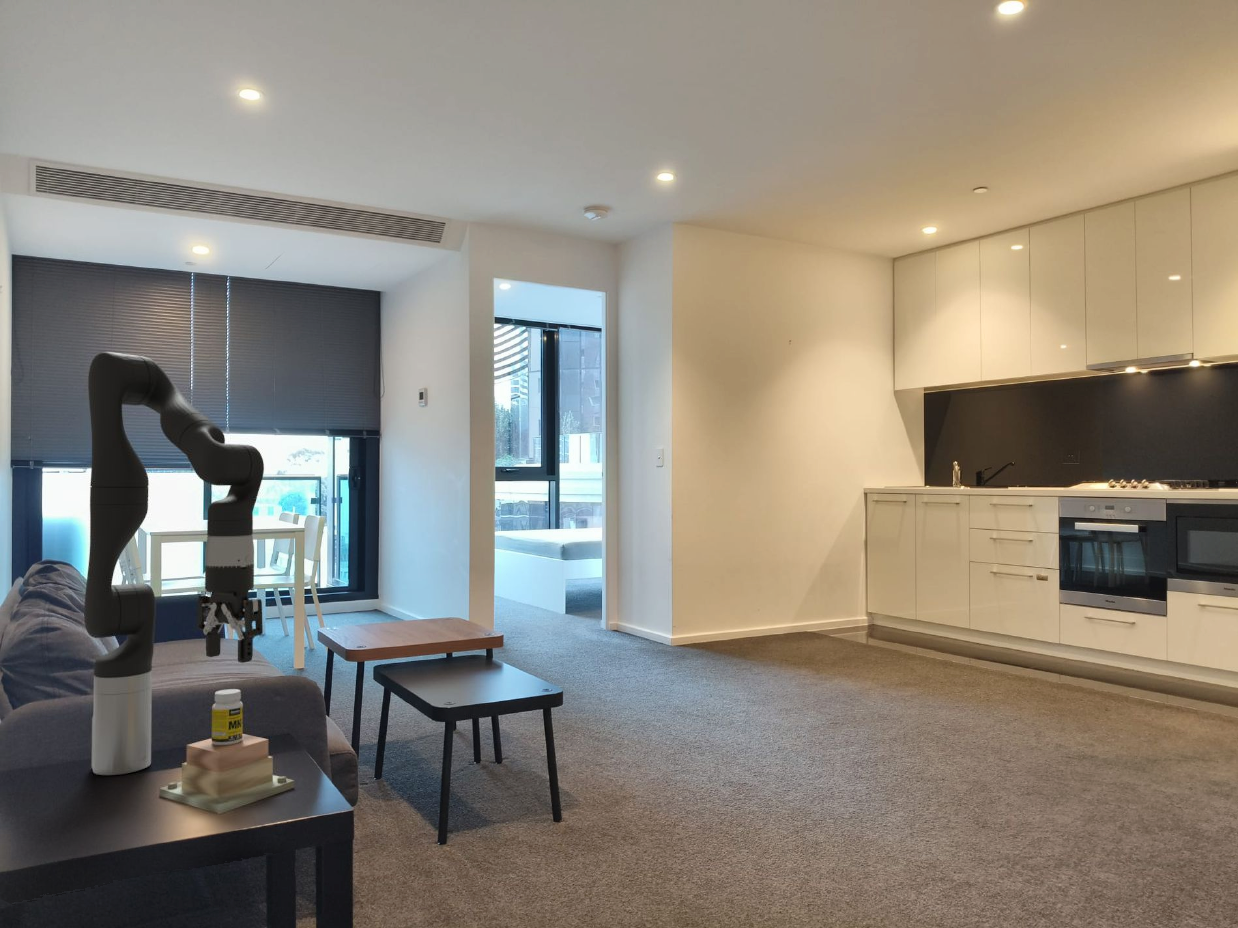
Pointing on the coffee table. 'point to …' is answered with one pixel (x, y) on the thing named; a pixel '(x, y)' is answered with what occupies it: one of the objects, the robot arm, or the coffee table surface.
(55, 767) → the coffee table surface
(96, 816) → the coffee table surface
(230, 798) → the stepped pedestal block
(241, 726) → the supplement bottle
